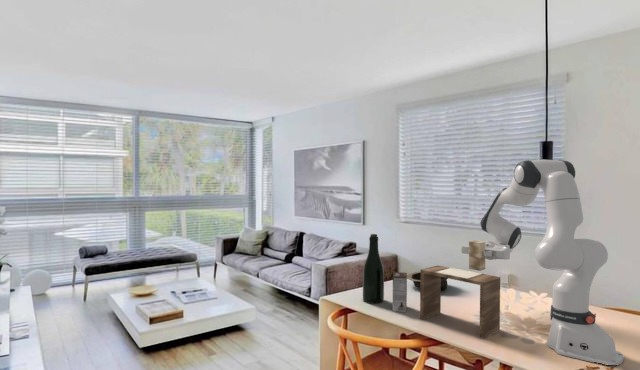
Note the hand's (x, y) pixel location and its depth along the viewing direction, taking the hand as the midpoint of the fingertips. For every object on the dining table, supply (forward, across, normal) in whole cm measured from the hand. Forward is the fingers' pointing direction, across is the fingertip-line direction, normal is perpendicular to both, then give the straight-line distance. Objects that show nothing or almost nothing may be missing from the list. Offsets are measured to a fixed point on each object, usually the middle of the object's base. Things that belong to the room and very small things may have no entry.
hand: (476, 253), depth 173 cm
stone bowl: (-25, -40, +27) cm, 55 cm away
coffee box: (+17, -29, +28) cm, 43 cm away
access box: (+14, -1, +28) cm, 31 cm away
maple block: (-1, 0, +7) cm, 7 cm away
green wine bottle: (+17, -45, +27) cm, 55 cm away
